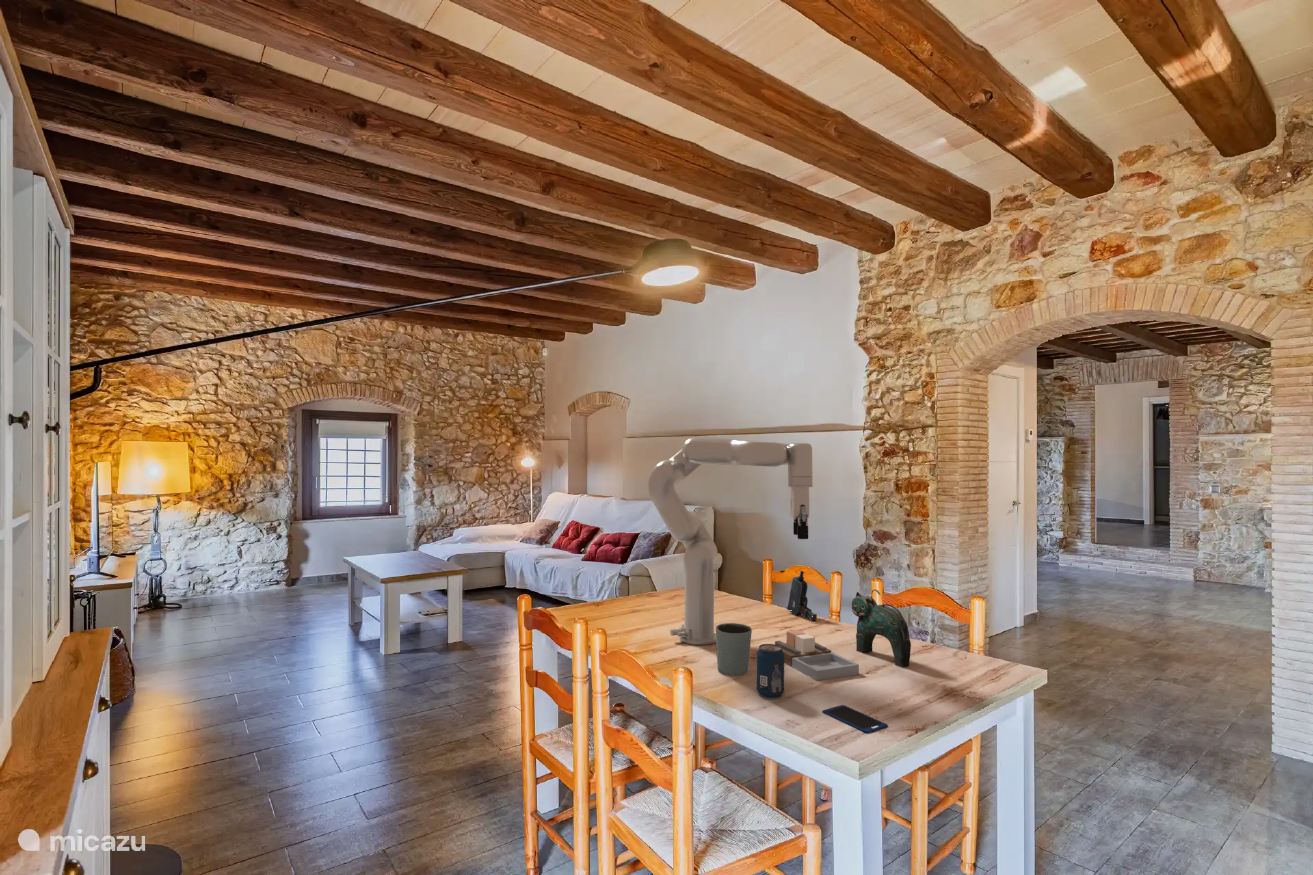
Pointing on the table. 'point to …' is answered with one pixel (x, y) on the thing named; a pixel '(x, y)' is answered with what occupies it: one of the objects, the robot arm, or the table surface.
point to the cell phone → (855, 719)
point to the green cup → (733, 648)
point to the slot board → (799, 652)
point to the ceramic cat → (881, 627)
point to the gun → (800, 598)
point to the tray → (825, 666)
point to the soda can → (770, 671)
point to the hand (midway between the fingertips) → (800, 536)
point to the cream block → (805, 643)
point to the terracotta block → (792, 637)
